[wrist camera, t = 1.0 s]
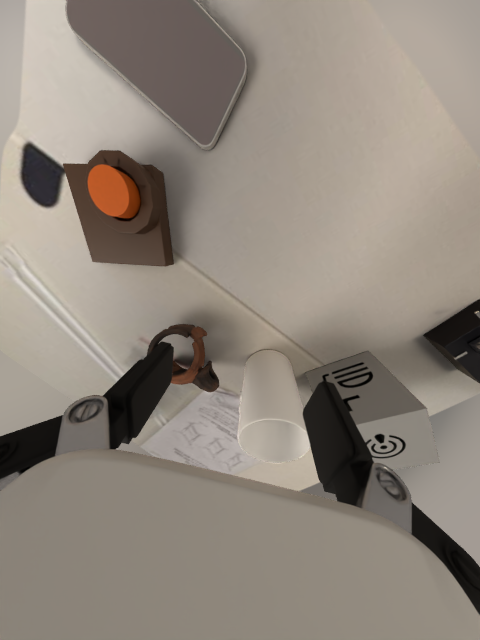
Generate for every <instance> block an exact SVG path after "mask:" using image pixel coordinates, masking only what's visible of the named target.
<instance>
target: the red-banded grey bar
mask: <svg viewBox="0 0 480 640" xmlns="http://www.w3.org/2000/svg"><path fill="white" fill-rule="evenodd" d="M468 344H469V345H470V346H471V347H472V348H473V349H474V350H475V351H476V352H477V353H478V354H480V337H479V338H477V339H475V340H473V341H472V342H470V343H468Z"/></svg>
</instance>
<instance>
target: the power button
mask: <svg viewBox="0 0 480 640" xmlns="http://www.w3.org/2000/svg"><path fill="white" fill-rule="evenodd" d="M88 189H89V193H90V196H91V198H92V200H93V202H94V203H95V205H96V206H97V207H98V208H99V209H100V210H101V211H102V212H104V213H105V214H107V215H110V216H114V217H120V218H132V217H133V216H135V215H136V214H137V213H138V211H139V208H140V194H139V191H138V188H137V186H136V185H135V183H134V182H133V180H132V179H131V178H130V177H129V176H127V175H126V174H124V173H122V172H120V171H119V170H117V169H115V168H113V167H111V166H108V165H104V164H101V165H97V166H95V167H94V168H93V169H92V170H91V171H90V173H89V176H88Z"/></svg>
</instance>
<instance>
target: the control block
mask: <svg viewBox="0 0 480 640" xmlns="http://www.w3.org/2000/svg"><path fill="white" fill-rule="evenodd" d="M101 164H104V165H108V166H111V167H113V168H115V169H117V170H119V171H120V172H122V173H124V174H126V175H127V176H129V177H130V178H131V179H132V180H133V182H134V183H135V185H136V186H137V188H138V191H139V194H140V208H139V211H138V213H137V214H136V215H135V216H133V217H132V218H120V217H114V216H110V215H107V214H105V213H104V212H102V211H101V210H100V209H99V208H98V207H97V206H96V205H95V203H94V202H93V200H92V198H91V196H90V193H89V189H88V176H89V173H90V171H91V170H92V169H93V168H94V167H95V166H97V165H101ZM63 166H64V169H65V173H66V176H67V179H68V182H69V186H70V189H71V192H72V196H73V199H74V202H75V205H76V209H77V212H78V215H79V218H80V222H81V225H82V228H83V232H84V235H85V238H86V241H87V245H88V248H89V251H90V255H91V258H92V261H93V262H101V263H118V264H134V265H151V266H169V265H173V264H174V263H173V255H172V246H171V237H170V229H169V220H168V212H167V203H166V194H165V186H164V177H163V173H162V172H161V171H160V170H158V169H157V168H156V167H154V166H153V165H140V164H139V163H137V162H136V161H135V160H133V159H132V158H130V157H129V156H127V155H126V154H124V153H123V152H121V151H111V150H100V151H99V152H98V153H97V154H96V155H95V156H94V157H93V158H92V159H91V160H90V161H89V162H88V164H63Z"/></svg>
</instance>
